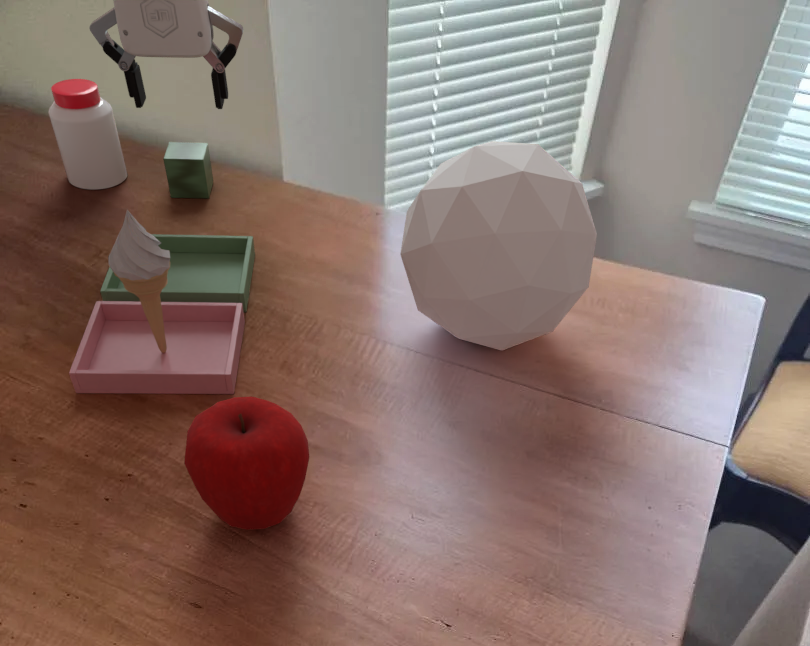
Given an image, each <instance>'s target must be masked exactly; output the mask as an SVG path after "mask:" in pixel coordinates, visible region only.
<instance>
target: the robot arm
mask: <svg viewBox="0 0 810 646" xmlns="http://www.w3.org/2000/svg"><path fill="white" fill-rule="evenodd" d="M112 1H113V6H114V7H112V8H111V9H109V10H108V11H106V12H105V13H103V14H102V15H100V16H99V17H97V18H96V19H94V20H93V21H92V22H91V23H90V25H89V31H90V34H91V35H93V37H94V39H95V40H96V41H97V43H98V44H99V46H101V48H102V51H103V52H104V54H105V55H107V57H109V58H110V59H111V60H112V61H113V62H114V63H116V64H117V66H118V68H119V69H120V71H122V72H123V74H124V79H125V84H126V88H127V92H128V96H129V98H133V100H134V101H133V102H134V105H135V108H136V109H141V108H143V106H144V104H145V102H146V99H147V94H146V90H145V86H144V81H143V76H142V71H141V67H140V64H139V63H138V62H137V61H136V57H141V58H174V59H175V58H178V59H179V58H182V59H193V58H197V59H198V58H204V59H205V61H206V62H207V63H208V64H209V65H210V66H211V68H212V69H211V73H210V79H211V85H212V91H213V98H214V104H215V105H214V106H215V109H218V110H223V107H224V104H225V100H228V99H229V88H228V82H227V81H228V80H227V73H226V68H227V67H228V66H229V64H230V63H231V62H232V61H233V59H234V58H235V56H236V55H237V52H238V49H239V46H240V44H241V41H242V37H243V33H244V30H245V29H244V26H243V25H242V23H239V22H237V21H236V20H234V19H232V18H230V17H229V16H227V15H225V14H224V13H222V12H221V11H218V10H217V9H214V7H211V6H210V4H209V0H112ZM115 25H116V26H117V29H118V36H119V39H120V43H121V45H120V44H118V43H117V42H116V41H115V40H114V39H113V38H112V37H111V35H110V34H109V32H108V30H109V29H111V28H112V27H114V26H115ZM214 27H215V28H217V29H218V30H221V31H222V32H224V33H226V34H227V35H228V41H227V42H226V45H224V47H223V48H222V50H221V48H219V46H218V45H217V44H216V43H215V42H214Z"/></svg>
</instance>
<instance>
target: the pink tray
mask: <svg viewBox="0 0 810 646" xmlns="http://www.w3.org/2000/svg"><path fill="white" fill-rule="evenodd" d="M161 306H162V313H163V323H164V331H165V340H166V346H167V349H166V352H165V353H162V352H161V351H160V350H159V348H158V345H157V342H156V340H155V337H154V335H153V332H152V330H151V328H150V325H149V322H148V320H147V318H146V315H145V313H144V310H143V307H142V305H141V302H134V301H103V300H96V301H95V304H94V306H93V309H92V311H91V314H90V316H89V319H88V321H87V324H86V327H85V330H84V333H83V335H82V337H81V340H80V343H79V345H78V348H77V350H76V353H75V356H74V359H73V361H72V364H71V367H70V370H69V372H68V375H69V377H70V380H71V384H72V386H73V388H74V389H73V390H74V392H75V394H143V395H144V394H145V395H146V394H149V395H150V394H151V395H152V394H153V395H154V394H156V395H157V394H158V395H159V394H161V395H162V394H165V395H171V394H172V395H174V394H175V395H183V394H185V395H234V394H235V389H236V382H237V376H238V370H239V364H240V357H241V351H242V345H243V337H244V332H245V331H244V330H245V323H246V321H245V312H243V305H242V303H208V302H161Z"/></svg>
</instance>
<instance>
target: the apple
mask: <svg viewBox="0 0 810 646" xmlns="http://www.w3.org/2000/svg"><path fill="white" fill-rule="evenodd" d="M185 441H186V442H185V443H186V444H185V452H184V462H183V463H184V466H185V469H186V470H187V473H188V475H189V477H190V479H191V481H192V482H193V485H194V487H195V489H196V491H197V493H198V494H199V496H200V498H201V500H202V501H203V502H204V503H205V505H207V506H208V508H209V509H211V511H212V512H213V513H214V514H215V515H216V516H217V517H218V519H220V520H221V521H222V522H224V523H226V525H228V526H230V527H232V528H237V529H241V530H249V531H251V530H265V529H268V528H270V527H273V526H276V525H278V524H281V523H282V522H283V521H284V520H285V519H286V518H287V517H288V516H289V515H290V514H291V513H292V511H293V509H294V507H295V505H296V503H297V502H298V500H299V498H300V496H301V493H302V490H303V487H304V484H305V481H306V477H307V472H308V468H309V467H308V466H309V461H310V449H309V440H308V438H307V435H306V433H305V430H304V428H303V426H302V424H301V423H300V422H299V420H297V418H296V416H294V415H293V414H292V413H291V412H290V411H289V410H287V409H285V408H284V407H282V406H280V405H279V404H277V403H275V402H272V401H270V400H268V399H263V398H259V397H256V396H253V395H252V396H234V397H231V398H227V399H223V400H220V401H217V402H216V403H214V404H213V405H211V406H209V407H207V409H205V410H203V411H202V412H200V413H198V414H196V415H195V417H194V419H193V420H192V422H191V424H190V425H189V427H188V429H187V432H186V440H185Z"/></svg>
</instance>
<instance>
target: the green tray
mask: <svg viewBox="0 0 810 646" xmlns="http://www.w3.org/2000/svg"><path fill="white" fill-rule="evenodd" d="M151 234H152V235H153V236H154V237H155V238H156V239H157V240H158V241H160V242H161V244H160V245H158V246H159V247H160V248H161V249H163V250H169V251H170V268H169V270H168V274H167V279H168V283H167V285H166V286H165V287H164V288H163V289H162V291H161V293H160V299H161V302H208V303H242V305H243V312H244V313H247V310H248V304H249V299H250V292H251V291H250V290H251V285H252V277H253V272H254V265H255V258H256V252H255V242H254V241H255V240H254V236H253V235H215V234H214V235H213V234H208V235H207V234H164V233H161V234H160V233H159V234H157V233H151ZM100 296H101V299H102V301H134V302H140V299H139V297H137V296H136V295H135V294H133V293H131V292H128V291H127V290H126V289H125V287H124V285H123V283H122V281H121V280H120V279H119V278H118V277H117V276H115V274H114V272H113V271H112V269H111V268H110V266H109V267H108V270H107V272H106V275H105V277H104V279H103V282H102V285H101V287H100Z"/></svg>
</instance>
